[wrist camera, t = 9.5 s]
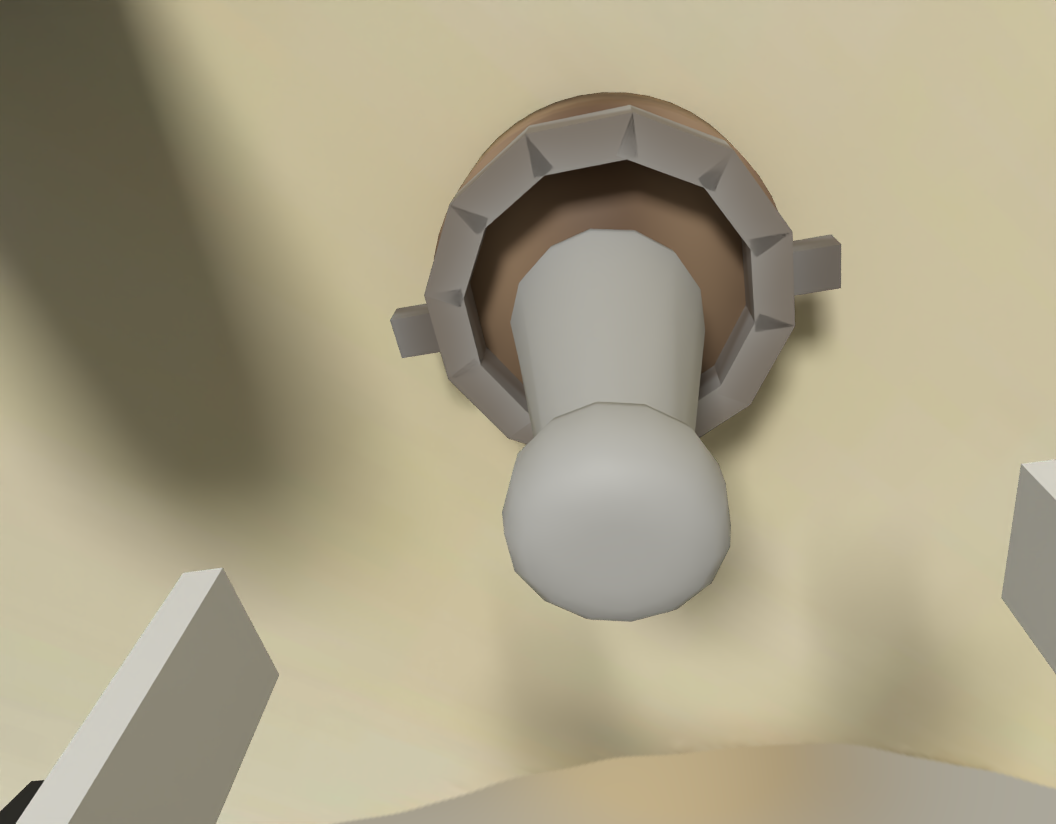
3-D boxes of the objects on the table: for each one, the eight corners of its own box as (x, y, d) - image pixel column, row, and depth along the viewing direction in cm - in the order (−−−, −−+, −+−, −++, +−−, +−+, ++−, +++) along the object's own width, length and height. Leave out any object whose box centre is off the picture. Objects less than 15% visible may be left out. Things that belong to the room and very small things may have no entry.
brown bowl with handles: (457, 425, 31) (438, 488, 27) (374, 138, 25) (335, 165, 21) (809, 375, 28) (844, 436, 25) (803, 48, 23) (847, 59, 19)
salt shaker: (610, 404, 26) (622, 715, 15) (483, 305, 25) (391, 569, 14) (732, 286, 24) (856, 554, 12) (599, 168, 22) (604, 353, 11)
